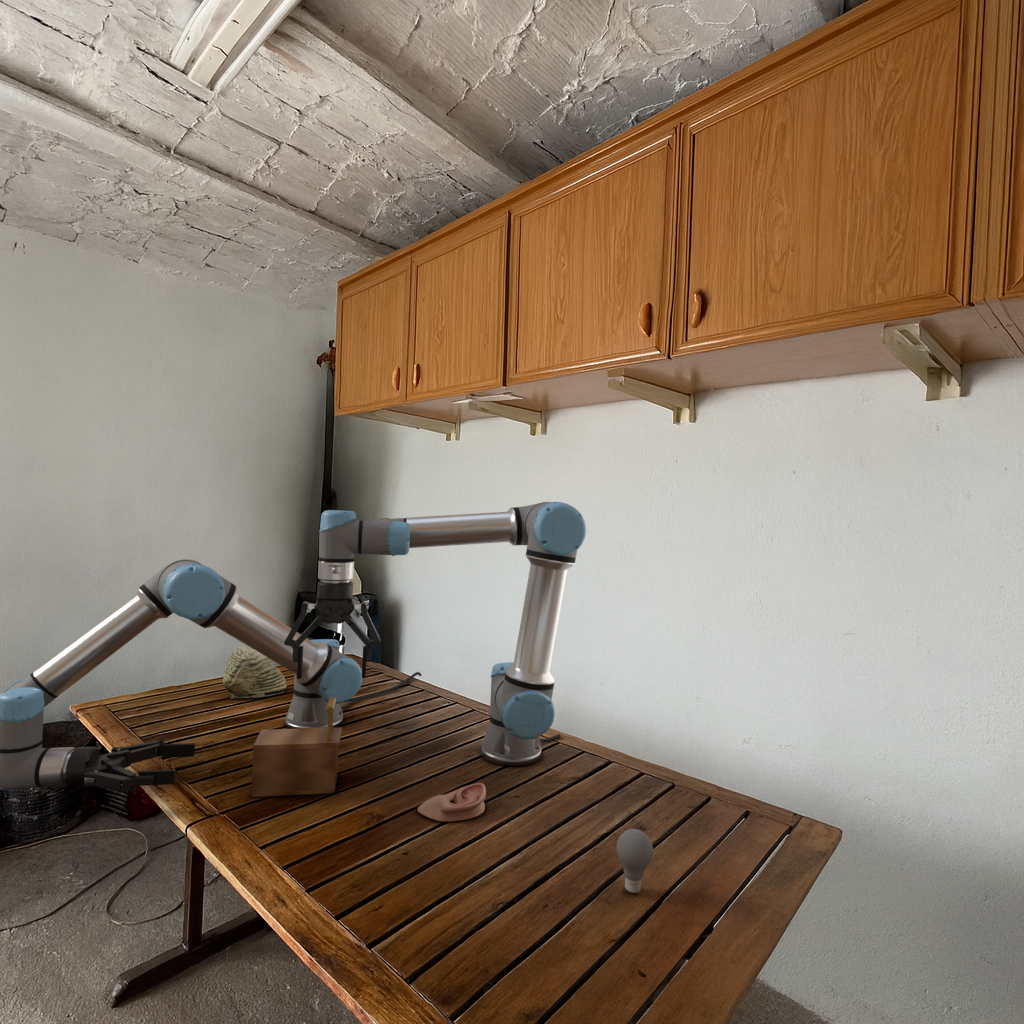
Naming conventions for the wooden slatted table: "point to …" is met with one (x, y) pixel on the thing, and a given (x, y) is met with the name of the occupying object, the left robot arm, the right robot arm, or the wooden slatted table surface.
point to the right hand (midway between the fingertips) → (332, 677)
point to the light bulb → (634, 857)
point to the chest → (294, 772)
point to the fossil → (252, 675)
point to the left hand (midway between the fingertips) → (185, 762)
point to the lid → (301, 736)
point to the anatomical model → (456, 804)
